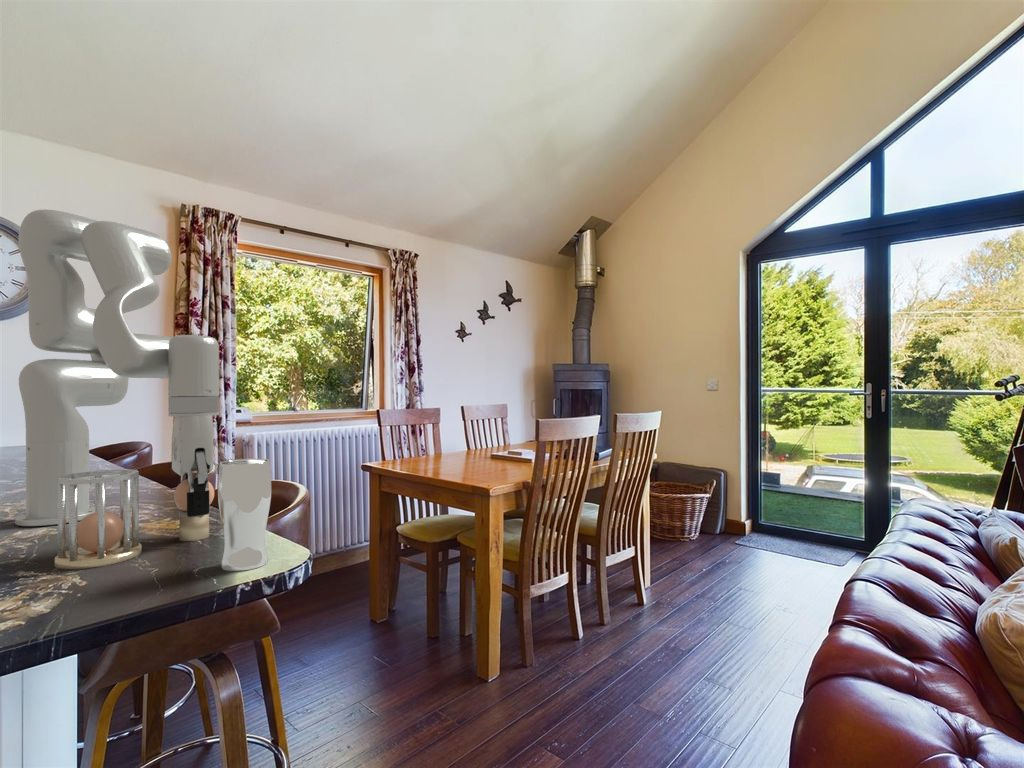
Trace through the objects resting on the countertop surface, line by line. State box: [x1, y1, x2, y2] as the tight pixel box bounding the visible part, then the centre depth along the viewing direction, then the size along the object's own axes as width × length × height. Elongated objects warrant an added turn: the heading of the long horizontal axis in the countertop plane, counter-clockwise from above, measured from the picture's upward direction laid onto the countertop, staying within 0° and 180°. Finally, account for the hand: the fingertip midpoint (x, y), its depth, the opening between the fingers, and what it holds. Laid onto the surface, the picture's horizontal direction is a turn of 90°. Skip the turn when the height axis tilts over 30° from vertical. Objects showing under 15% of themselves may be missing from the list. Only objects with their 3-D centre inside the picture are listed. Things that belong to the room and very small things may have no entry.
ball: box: [78, 510, 123, 552], centre depth 81 cm, size 6×6×6 cm
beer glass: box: [217, 458, 272, 572], centre depth 77 cm, size 7×7×15 cm
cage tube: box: [54, 468, 142, 570], centre depth 81 cm, size 10×10×13 cm
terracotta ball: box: [173, 478, 215, 512], centre depth 91 cm, size 6×6×6 cm
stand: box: [178, 507, 211, 542], centre depth 91 cm, size 4×4×5 cm
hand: (194, 510), depth 91 cm, fingers closed on terracotta ball, 5 cm apart
